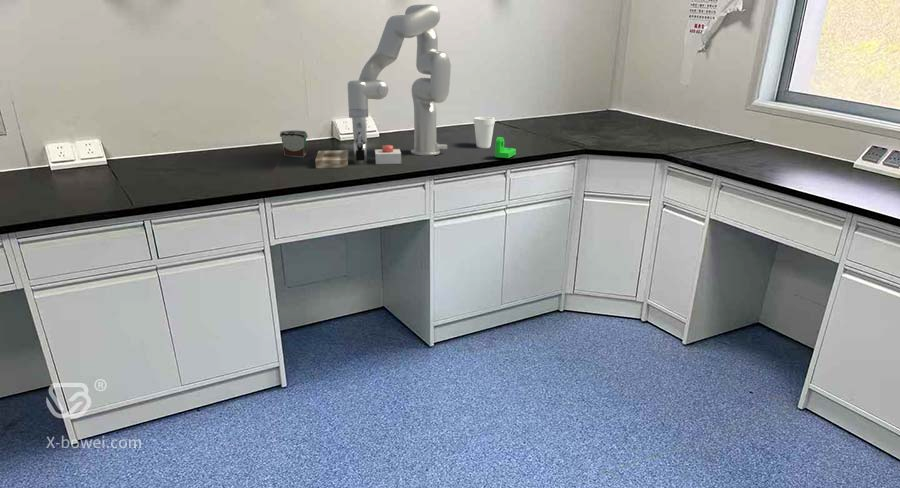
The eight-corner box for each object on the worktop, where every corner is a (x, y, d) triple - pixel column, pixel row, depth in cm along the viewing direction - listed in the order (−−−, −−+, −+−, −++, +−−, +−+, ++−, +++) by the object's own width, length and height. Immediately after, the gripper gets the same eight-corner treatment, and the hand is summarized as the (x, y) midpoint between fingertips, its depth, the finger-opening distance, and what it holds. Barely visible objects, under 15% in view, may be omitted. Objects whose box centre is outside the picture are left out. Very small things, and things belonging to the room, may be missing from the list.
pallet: (348, 157, 250) (348, 150, 249) (347, 167, 231) (347, 159, 230) (318, 158, 248) (318, 150, 247) (315, 168, 230) (315, 160, 229)
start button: (392, 149, 244) (392, 145, 243) (393, 151, 240) (393, 147, 239) (382, 150, 243) (381, 145, 243) (382, 152, 239) (382, 147, 239)
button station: (399, 158, 248) (399, 149, 247) (401, 163, 239) (401, 153, 238) (375, 159, 247) (374, 149, 246) (376, 164, 238) (375, 154, 236)
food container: (314, 155, 255) (313, 131, 251) (307, 157, 249) (305, 133, 246) (289, 153, 258) (287, 129, 255) (281, 155, 253) (279, 131, 250)
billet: (366, 160, 244) (366, 141, 242) (366, 163, 240) (366, 143, 237) (354, 160, 244) (353, 141, 241) (354, 163, 239) (353, 143, 236)
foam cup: (483, 149, 269) (483, 120, 265) (469, 146, 276) (469, 118, 272) (498, 147, 275) (499, 118, 271) (483, 144, 282) (484, 116, 278)
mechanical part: (508, 158, 252) (509, 139, 250) (494, 156, 255) (495, 138, 252) (517, 153, 263) (518, 134, 260) (504, 152, 265) (505, 133, 262)
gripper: (368, 116, 228) (370, 162, 233) (367, 110, 244) (369, 154, 250) (348, 116, 226) (350, 163, 232) (349, 110, 243) (351, 154, 249)
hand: (360, 158), depth 241 cm, fingers open, 6 cm apart
